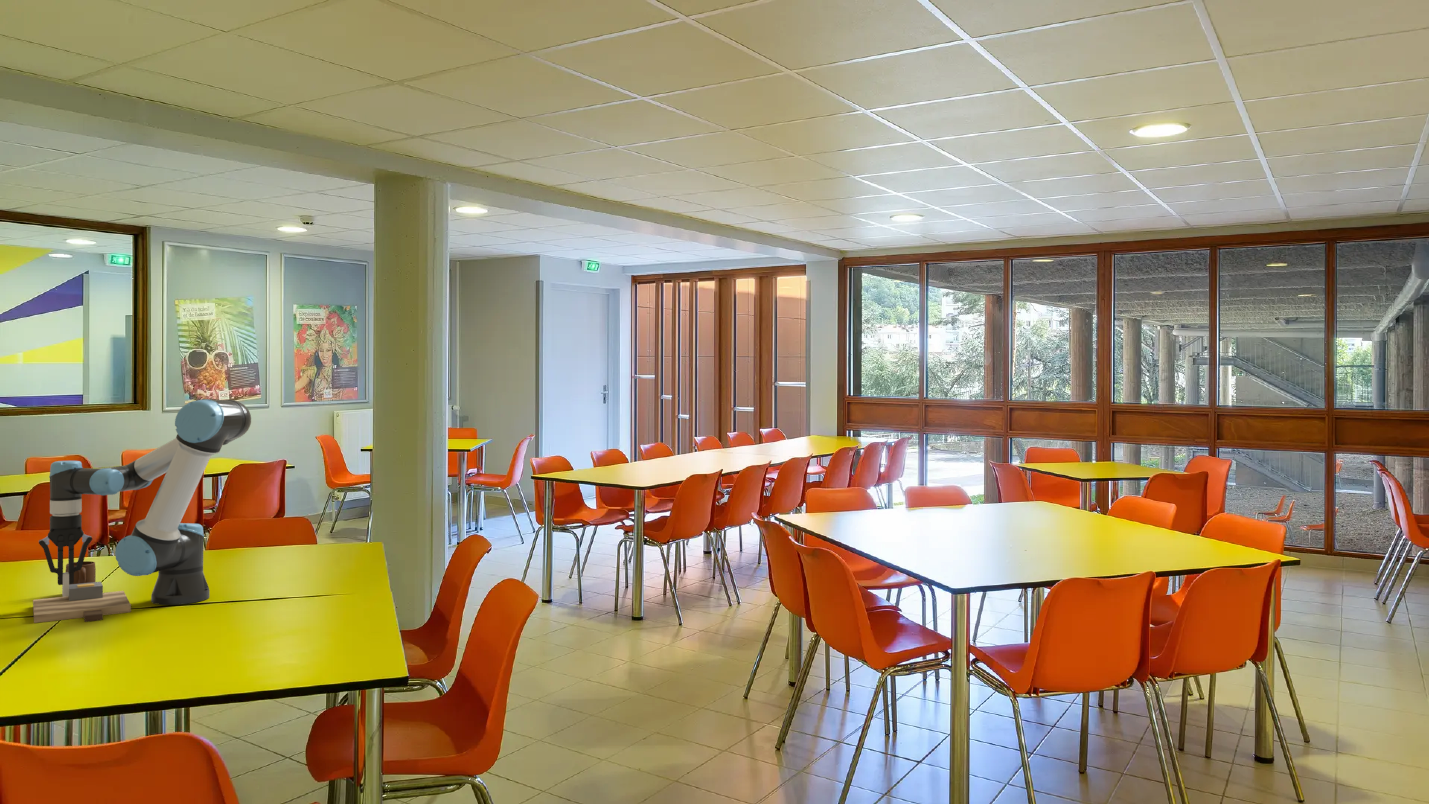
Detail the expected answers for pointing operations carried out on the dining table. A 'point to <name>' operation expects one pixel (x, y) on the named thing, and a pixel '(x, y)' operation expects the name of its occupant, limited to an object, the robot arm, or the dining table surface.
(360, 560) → the dining table surface
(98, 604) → the board
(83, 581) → the mug
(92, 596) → the grey rectangular block
